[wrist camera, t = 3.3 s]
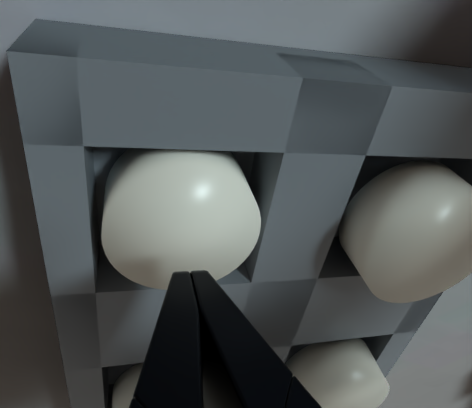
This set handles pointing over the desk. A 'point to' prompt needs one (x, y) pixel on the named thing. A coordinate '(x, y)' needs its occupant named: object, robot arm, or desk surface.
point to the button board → (253, 167)
